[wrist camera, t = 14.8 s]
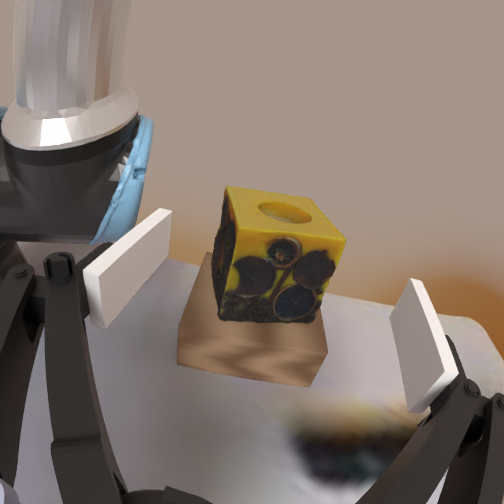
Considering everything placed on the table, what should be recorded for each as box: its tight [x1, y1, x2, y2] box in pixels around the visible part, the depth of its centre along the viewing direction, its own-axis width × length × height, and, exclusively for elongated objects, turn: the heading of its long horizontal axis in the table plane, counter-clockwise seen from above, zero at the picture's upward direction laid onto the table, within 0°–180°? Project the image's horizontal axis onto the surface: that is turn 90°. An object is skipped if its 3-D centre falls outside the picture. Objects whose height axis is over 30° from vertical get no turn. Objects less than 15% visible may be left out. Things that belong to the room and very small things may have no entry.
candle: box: [211, 186, 346, 323], centre depth 31 cm, size 10×10×10 cm
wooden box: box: [177, 252, 328, 387], centre depth 34 cm, size 14×14×6 cm
